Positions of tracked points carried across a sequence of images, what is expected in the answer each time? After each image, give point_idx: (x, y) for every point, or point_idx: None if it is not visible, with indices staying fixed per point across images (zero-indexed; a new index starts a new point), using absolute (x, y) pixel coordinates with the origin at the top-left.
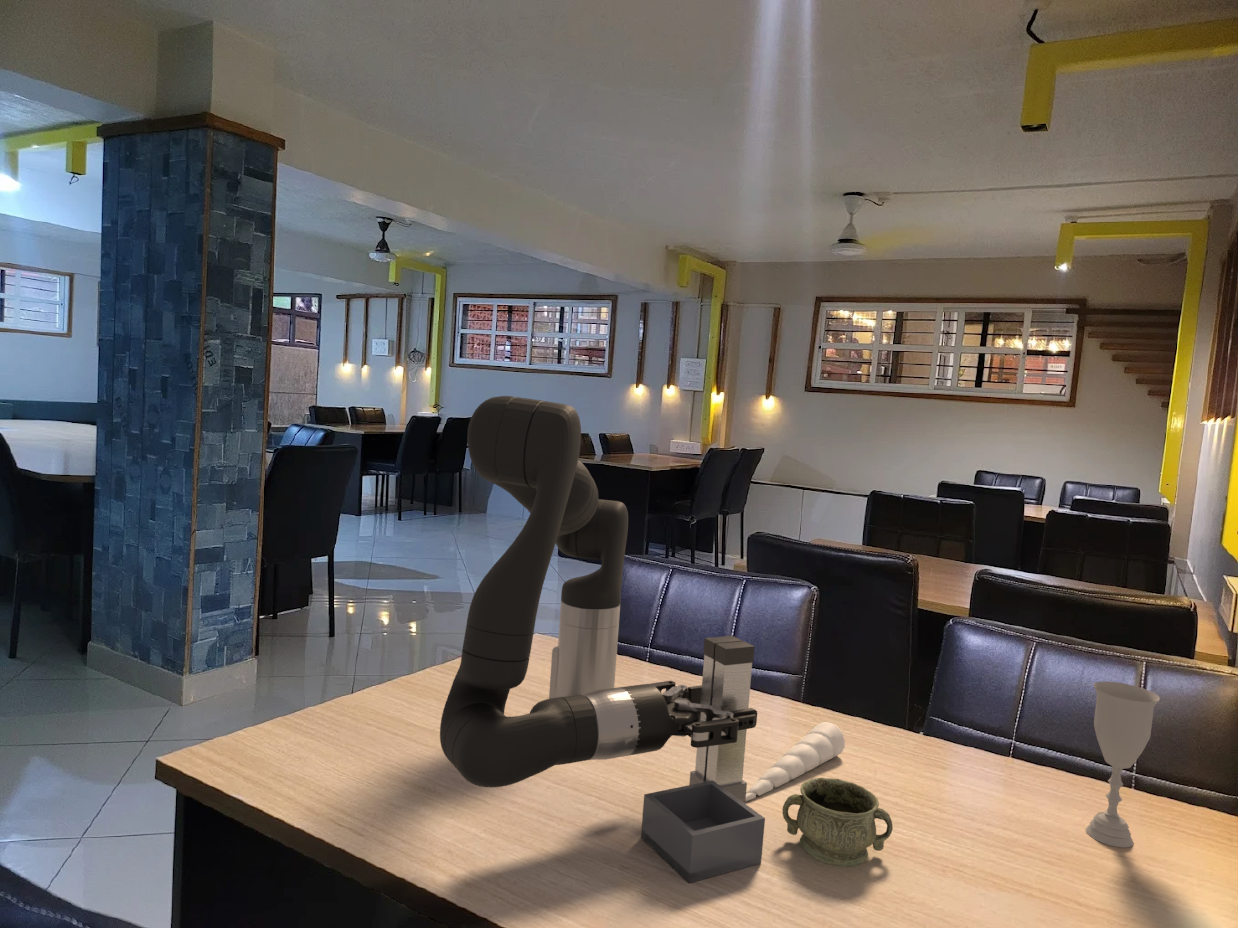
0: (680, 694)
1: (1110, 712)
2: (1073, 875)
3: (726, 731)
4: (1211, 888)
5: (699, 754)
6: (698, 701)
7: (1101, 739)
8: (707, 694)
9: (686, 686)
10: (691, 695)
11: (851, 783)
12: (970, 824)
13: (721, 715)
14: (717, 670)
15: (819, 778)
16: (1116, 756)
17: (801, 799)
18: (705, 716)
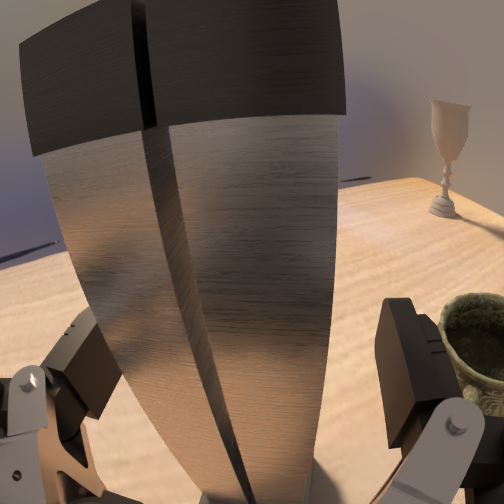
0: (56, 467)
1: (459, 118)
2: (495, 250)
3: (488, 482)
4: (494, 215)
5: (210, 486)
6: (109, 380)
7: (451, 142)
8: (169, 373)
9: (39, 370)
10: (79, 389)
11: (457, 299)
12: (424, 255)
13: (467, 468)
14: (223, 207)
15: (442, 329)
16: (458, 152)
17: (482, 391)
18: (196, 436)
